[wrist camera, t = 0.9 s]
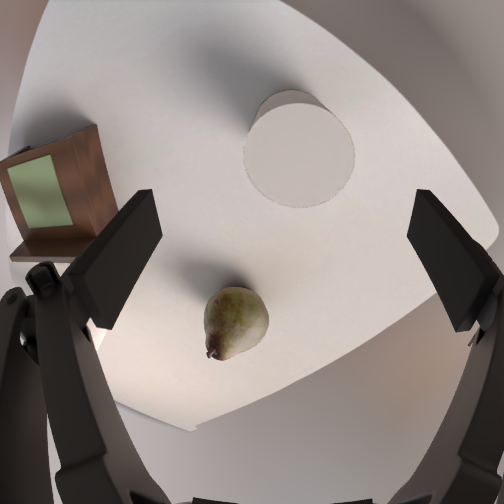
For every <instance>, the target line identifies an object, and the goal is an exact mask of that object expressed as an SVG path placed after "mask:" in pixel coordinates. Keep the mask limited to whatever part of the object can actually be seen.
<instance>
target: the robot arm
mask: <svg viewBox="0 0 504 504" xmlns="http://www.w3.org/2000/svg"><path fill="white" fill-rule="evenodd" d="M162 236H163V235H162V231H161V226H160V222H159V218H158V214H157V210H156V205H155V201H154V197H153V192H152V189H147V190H138V191H137V192H136V194H135V195H134V196H133V197H132V198H131V199H130V200H129V201H128V202H127V203H126V204H125V205H124V206H123V207H122V209H121V210H120V211H119V212H118V213H117V214H116V215H115V216H114V217H113V219H112V220H111V221H110V222H109V223H108V224H107V225H106V227H105V228H104V229H103V230H102V231H101V232H100V234H99V235H98V236H97V237H96V238H95V239H94V240H92V241H91V242H90V243H88V244H87V245H86V246H85V247H84V248H83V249H82V250H81V252H80V253H79V255H77V256H76V258H75V259H74V261H73V262H72V263H71V264H70V265H69V267H68V268H67V269H66V270H65V272H64V273H63V274H62V276H61V277H60V276H59V274H58V272H57V270H56V268H55V266H54V264H53V262H51V261H44V262H41V263H39V264H37V265H35V266H34V267H33V268H32V269H31V270H30V271H29V272H28V273H27V275H26V278H25V279H26V281H27V283H28V285H29V287H30V288H31V290H32V292H33V293H34V295H29V296H26V295H25V293H24V291H23V290H22V288H20V287H15V288H13V289H10V290H9V291H7V292H6V293H5V295H4V296H3V297H2V299H1V301H0V504H54V500H53V493H52V485H51V477H50V468H49V456H48V441H47V414H48V419H49V422H50V427H51V431H52V435H53V439H54V442H55V446H56V449H57V453H58V456H59V459H60V463H61V469H60V470H59V471H58V472H57V473H56V474H55V482H56V487H57V489H58V492H59V495H60V497H61V500H62V503H63V504H171V502H170V501H169V499H168V497H167V496H166V494H165V493H164V492H163V490H162V489H161V488H160V486H159V485H158V484H157V483H156V482H155V481H154V480H153V479H152V477H151V476H150V475H149V473H148V471H147V470H146V468H145V466H144V465H143V462H142V460H141V458H140V457H139V455H138V453H137V451H136V449H135V447H134V445H133V443H132V441H131V439H130V436H129V434H128V432H127V430H126V428H125V426H124V423H123V421H122V419H121V416H120V414H119V412H118V409H117V407H116V405H115V402H114V400H113V397H112V395H111V392H110V389H109V387H108V384H107V381H106V379H105V376H104V373H103V370H102V367H101V364H100V361H99V358H98V355H97V352H96V349H95V345H94V342H93V339H92V335H91V332H90V329H89V328H88V326H87V323H88V321H89V319H90V318H91V319H92V321H93V323H94V324H95V326H96V328H102V329H109V330H112V328H113V326H114V324H115V322H116V320H117V318H118V316H119V314H120V312H121V310H122V308H123V306H124V304H125V302H126V300H127V299H128V297H129V295H130V293H131V291H132V289H133V287H134V285H135V284H136V282H137V280H138V278H139V276H140V274H141V273H142V271H143V269H144V267H145V265H146V264H147V262H148V260H149V258H150V257H151V255H152V253H153V251H154V250H155V248H156V246H157V244H158V243H159V241H160V239H161V238H162ZM407 238H408V239H409V241H410V243H411V244H412V246H413V248H414V250H415V251H416V253H417V255H418V257H419V259H420V260H421V262H422V264H423V266H424V268H425V270H426V271H427V273H428V275H429V277H430V279H431V281H432V283H433V285H434V287H435V289H436V291H437V293H438V295H439V297H440V299H441V301H442V303H443V305H444V307H445V310H446V312H447V314H448V316H449V318H450V320H451V323H452V325H453V327H454V330H455V332H462V331H469V330H470V329H471V328H472V326H473V324H474V323H475V321H476V320H477V321H478V323H479V325H480V327H479V329H478V330H477V332H476V333H475V335H474V336H473V338H472V340H471V341H470V343H469V344H468V346H470V345H471V344H472V343H473V345H472V348H471V351H470V354H469V357H468V360H467V363H466V366H465V369H464V372H463V374H462V377H461V380H460V382H459V385H458V387H457V390H456V392H455V395H454V397H453V400H452V402H451V405H450V407H449V409H448V411H447V413H446V415H445V417H444V420H443V422H442V424H441V426H440V428H439V430H438V432H437V434H436V436H435V437H434V439H433V441H432V443H431V445H430V447H429V449H428V450H427V453H426V454H425V456H424V458H423V459H422V461H421V462H420V464H419V466H418V467H417V469H416V471H415V472H414V474H413V475H412V477H411V478H410V480H409V481H408V482H407V483H406V484H405V485H404V486H403V487H401V488H400V489H399V490H398V492H397V493H396V494H395V495H394V496H393V497H392V499H391V500H390V501H389V503H388V504H494V502H495V500H496V498H497V496H498V499H497V503H496V504H504V475H503V479H502V477H501V476H499V475H498V474H497V468H498V465H499V462H500V460H501V456H502V454H503V451H504V275H503V274H502V272H501V271H500V270H499V268H498V267H497V265H496V264H495V263H494V262H493V261H492V258H491V257H490V256H489V255H488V253H487V252H486V251H485V249H484V248H483V247H482V246H481V245H480V244H479V243H478V242H476V241H475V240H474V239H472V238H471V236H470V235H469V234H468V233H467V231H466V230H465V229H464V228H463V227H462V225H461V224H460V223H459V222H458V221H457V220H456V218H455V217H454V216H453V215H452V214H451V213H450V212H449V210H448V209H447V208H446V207H445V206H444V205H443V204H442V203H441V202H440V201H439V200H438V198H437V197H436V196H435V195H434V194H433V193H432V192H431V191H430V190H422V189H417V192H416V197H415V202H414V207H413V211H412V216H411V220H410V224H409V229H408V233H407ZM20 336H21V337H22V339H23V340H24V344H23V345H21V341H20ZM499 491H500V492H499ZM498 494H499V495H498ZM178 504H237V503H230V502H221V501H214V500H207V499H201V498H195V497H193V501H192V502H183V503H178ZM334 504H376V503H373V502H372V499H366V500H360V501H353V502H344V503H334Z"/></svg>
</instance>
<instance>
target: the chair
mask: <svg viewBox="0 0 504 504" xmlns="http://www.w3.org/2000/svg"><path fill="white" fill-rule="evenodd" d="M0 182H1V185H2V188H3V191H4V194H5V196H6V199H7V202H8V204H9V207H10V210H11V212H12V215H13V217H14V220H15V222H16V224H17V227H18V229H19V231H20V234H21V236H22V238H23V240H24V241H23V242H22V243H21V244H20V245H19V246H18V247H17V248H16V250H15V251H14V252H13V253H12V254H11V255H10V256H9V257H10V259H11V261H12V262H44V261H51V262H53V263H72V262H73V261H74V259H75V258H76V256H77V255H79V253H80V252H81V250H82V249H83V248H84V247H85V246H86V245H87V244H88V243H90V242H91V241H92V240H94V239H95V238H96V237H97V236H98V235H99V234H100V232H101V231H102V230H103V229H104V228H105V227H106V225H107V224H108V223H109V222H110V221H111V220H112V219H113V217H114V216H115V215H116V214H117V213H118V212H119V211H118V208H117V205H116V201H115V198H114V194H113V191H112V187H111V183H110V180H109V176H108V172H107V168H106V164H105V160H104V156H103V152H102V148H101V143H100V139H99V134H98V129H97V125H93V126H89V127H85V128H83V129H81V130H79V131H77V132H75V133H73V134H71V135H69V136H67V137H65V138H63V139H61V140H59V141H56V142H53V143H50V144H47V145H44V146H41V147H38V148H35V149H32V150H31V149H30V146H27V147H25V148H22V149H20V150H19V151H17V152H15V153H14V154H12V155H10V156H9V157H7V158H5V159H4V160H2V161H0Z"/></svg>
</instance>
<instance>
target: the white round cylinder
mask: <svg viewBox="0 0 504 504" xmlns="http://www.w3.org/2000/svg"><path fill="white" fill-rule="evenodd" d="M243 160H244V166H245V170H246V173H247V175H248V177H249V179H250V181H251V183H252V184H253V185H254V187H255V188H256V189H257V190H258V191H259V192H260V193H261V194H262V195H263V196H265V197H266V198H268V199H269V200H271V201H273V202H275V203H277V204H280V205H283V206H287V207H294V208H306V207H312V206H316V205H319V204H322V203H324V202H326V201H328V200H330V199H331V198H333V197H334V196H336V195H337V194H338V193H339V192H340V191H341V190H342V189H343V188H344V186H345V185H346V184H347V182H348V180H349V179H350V176H351V174H352V171H353V168H354V163H355V149H354V144H353V141H352V138H351V136H350V133H349V132H348V130H347V128H346V127H345V126H344V124H343V123H342V122H341V121H340V120H339V119H338V118H337V117H336V116H335V115H334V114H333V113H332V112H330V111H329V110H328V109H327V108H326V107H325V106H324V105H323V104H321V103H320V102H319V101H318V100H317V99H316V98H314V97H313V96H311V95H309V94H307V93H305V92H302V91H297V90H287V91H281V92H278V93H276V94H274V95H272V96H270V97H269V98H268V99H267V100H266V101H265V102H264V103H263V104H262V105H261V107H260V108H259V110H258V113H257V115H256V117H255V119H254V122H253V124H252V126H251V128H250V131H249V133H248V135H247V138H246V141H245V144H244V151H243Z"/></svg>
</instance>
